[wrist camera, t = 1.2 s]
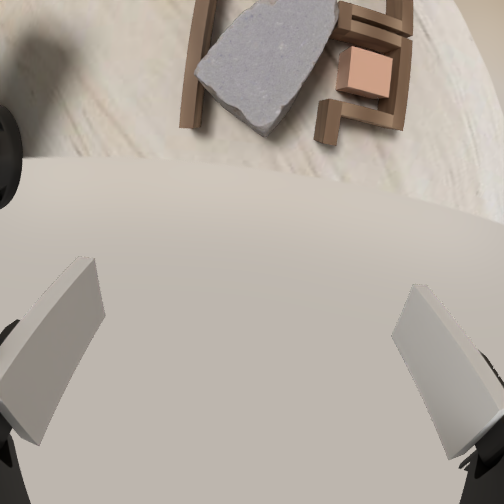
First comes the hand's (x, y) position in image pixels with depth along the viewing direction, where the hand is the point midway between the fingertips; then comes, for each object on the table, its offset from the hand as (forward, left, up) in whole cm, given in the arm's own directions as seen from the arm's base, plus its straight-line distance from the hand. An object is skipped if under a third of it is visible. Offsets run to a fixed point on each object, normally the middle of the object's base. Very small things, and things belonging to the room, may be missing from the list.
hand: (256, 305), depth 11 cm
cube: (+9, +13, -20) cm, 26 cm away
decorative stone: (0, +12, -21) cm, 24 cm away
